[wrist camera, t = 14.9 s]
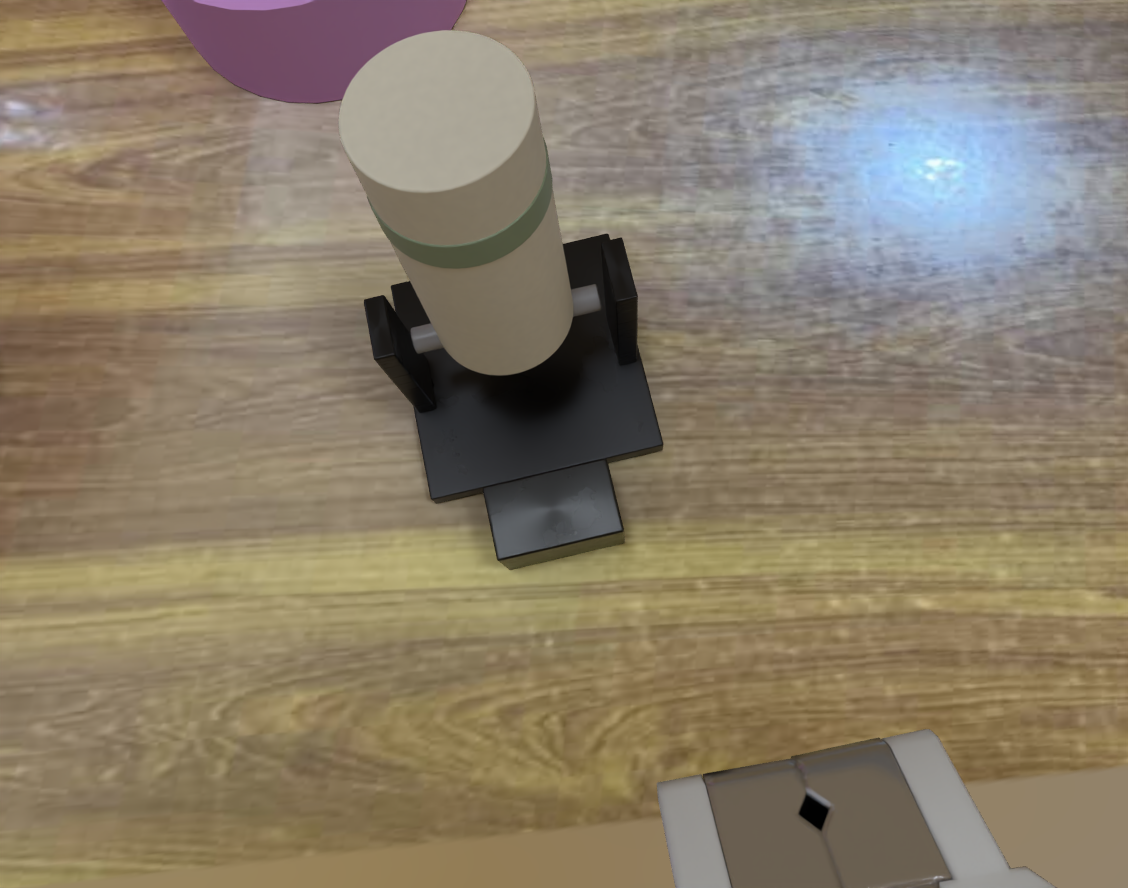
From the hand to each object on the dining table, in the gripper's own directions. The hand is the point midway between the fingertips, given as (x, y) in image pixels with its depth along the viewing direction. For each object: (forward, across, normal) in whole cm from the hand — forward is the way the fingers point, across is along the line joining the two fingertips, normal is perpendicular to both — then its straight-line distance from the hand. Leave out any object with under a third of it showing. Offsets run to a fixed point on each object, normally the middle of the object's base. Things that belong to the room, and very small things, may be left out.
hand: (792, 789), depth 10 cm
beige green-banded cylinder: (+20, +4, +2) cm, 20 cm away
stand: (+28, +4, +10) cm, 30 cm away
